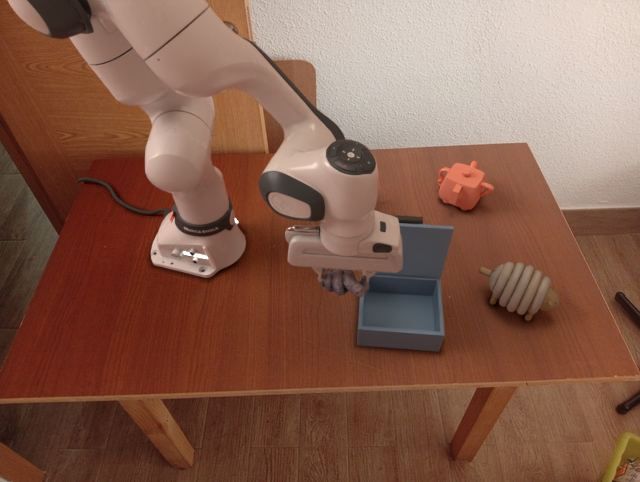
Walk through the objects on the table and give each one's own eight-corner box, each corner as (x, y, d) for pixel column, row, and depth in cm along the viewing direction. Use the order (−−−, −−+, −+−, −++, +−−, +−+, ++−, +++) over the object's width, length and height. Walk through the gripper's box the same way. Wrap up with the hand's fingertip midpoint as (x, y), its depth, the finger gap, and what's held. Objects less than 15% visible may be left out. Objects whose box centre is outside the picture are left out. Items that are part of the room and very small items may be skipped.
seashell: (369, 293, 93) (318, 288, 94) (371, 266, 92) (319, 262, 93) (368, 302, 88) (314, 297, 89) (370, 274, 87) (315, 269, 88)
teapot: (471, 179, 129) (480, 151, 122) (488, 211, 122) (499, 183, 114) (430, 185, 128) (435, 156, 121) (444, 217, 121) (452, 189, 113)
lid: (453, 229, 90) (451, 210, 93) (364, 223, 91) (365, 205, 95) (441, 277, 100) (439, 259, 104) (361, 272, 102) (362, 254, 105)
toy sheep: (544, 338, 99) (564, 309, 90) (464, 305, 104) (476, 275, 96) (555, 299, 105) (575, 269, 96) (479, 270, 110) (491, 239, 102)
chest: (438, 351, 98) (444, 335, 92) (357, 345, 99) (358, 329, 94) (435, 295, 106) (440, 277, 101) (360, 290, 108) (361, 272, 102)
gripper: (281, 239, 78) (286, 287, 88) (408, 247, 76) (398, 295, 87) (286, 211, 82) (290, 260, 92) (407, 218, 80) (398, 267, 91)
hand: (344, 277), depth 90 cm, fingers closed on seashell, 6 cm apart
